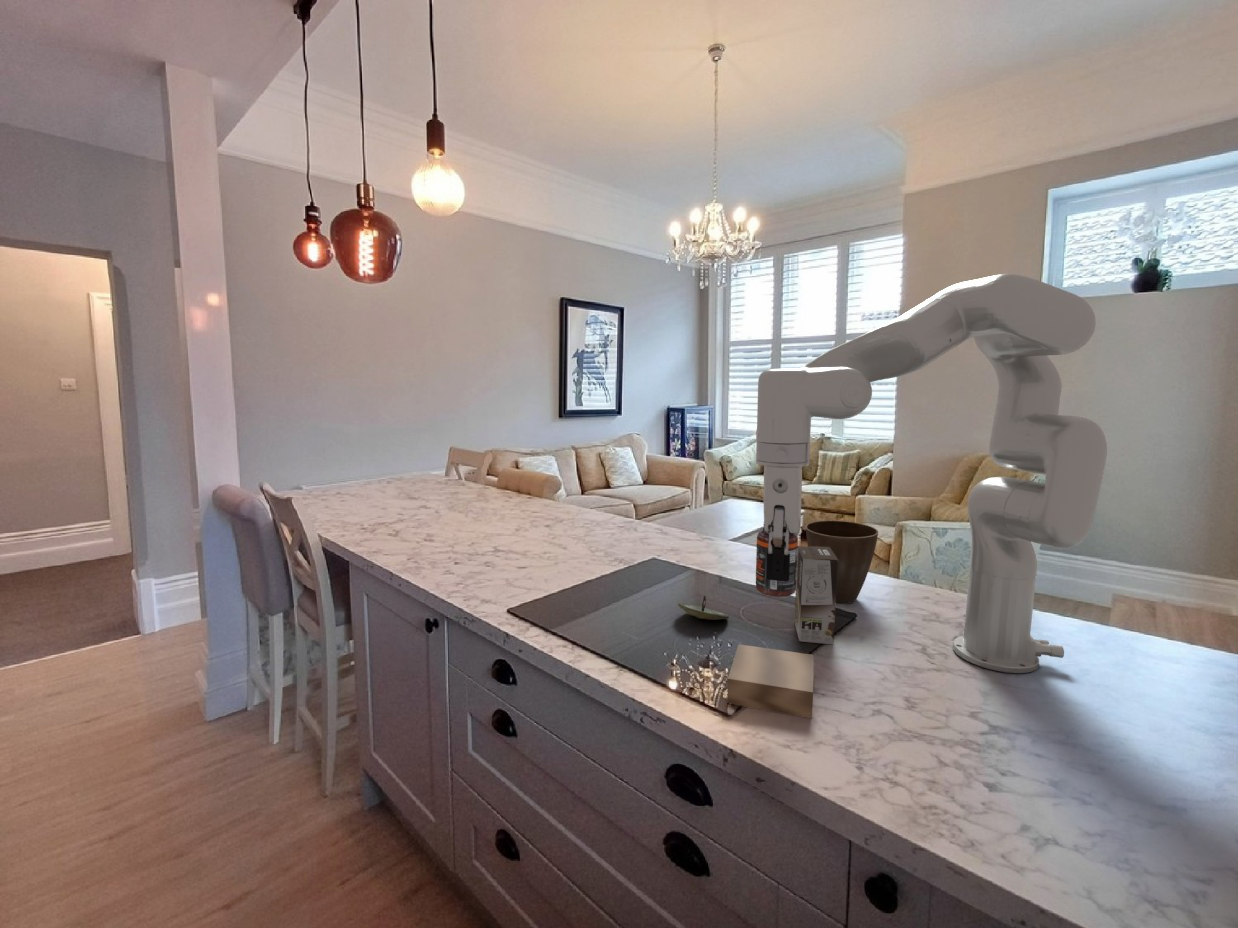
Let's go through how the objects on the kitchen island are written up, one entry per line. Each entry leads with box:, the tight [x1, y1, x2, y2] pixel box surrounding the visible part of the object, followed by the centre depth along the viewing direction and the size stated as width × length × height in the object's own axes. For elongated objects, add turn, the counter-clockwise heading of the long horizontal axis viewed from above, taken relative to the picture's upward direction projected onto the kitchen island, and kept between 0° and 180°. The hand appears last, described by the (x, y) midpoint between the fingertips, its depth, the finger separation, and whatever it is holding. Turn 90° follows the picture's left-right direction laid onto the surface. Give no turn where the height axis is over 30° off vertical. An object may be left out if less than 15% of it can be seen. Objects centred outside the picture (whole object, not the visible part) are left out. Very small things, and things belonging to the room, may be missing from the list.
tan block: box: [726, 644, 814, 719], centre depth 89 cm, size 12×12×4 cm
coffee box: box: [794, 545, 838, 645], centre depth 109 cm, size 9×6×16 cm
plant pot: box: [805, 520, 879, 605], centre depth 127 cm, size 15×15×16 cm
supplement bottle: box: [755, 525, 799, 598], centre depth 86 cm, size 6×6×11 cm
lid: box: [677, 595, 730, 621], centre depth 116 cm, size 11×10×5 cm
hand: (778, 571), depth 86 cm, fingers closed on supplement bottle, 5 cm apart
